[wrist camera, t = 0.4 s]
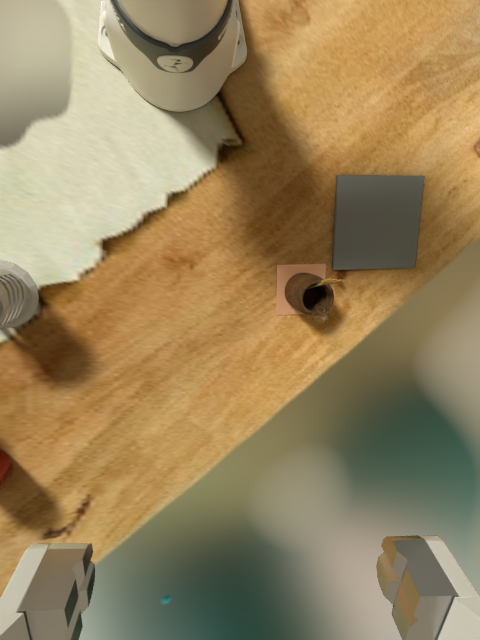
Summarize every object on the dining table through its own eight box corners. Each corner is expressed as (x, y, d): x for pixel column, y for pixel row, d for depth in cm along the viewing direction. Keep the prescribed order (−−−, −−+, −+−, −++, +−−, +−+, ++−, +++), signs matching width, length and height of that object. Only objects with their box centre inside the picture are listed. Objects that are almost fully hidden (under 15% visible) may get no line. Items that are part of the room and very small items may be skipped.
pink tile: (276, 264, 55) (277, 264, 55) (325, 263, 56) (326, 263, 56) (276, 315, 57) (276, 315, 57) (323, 312, 58) (324, 312, 58)
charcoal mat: (336, 175, 53) (338, 175, 52) (422, 176, 55) (424, 175, 54) (332, 269, 56) (333, 270, 56) (412, 267, 58) (415, 267, 58)
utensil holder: (280, 307, 56) (305, 325, 45) (286, 267, 55) (314, 276, 44) (315, 310, 58) (348, 329, 46) (322, 272, 56) (358, 281, 45)
